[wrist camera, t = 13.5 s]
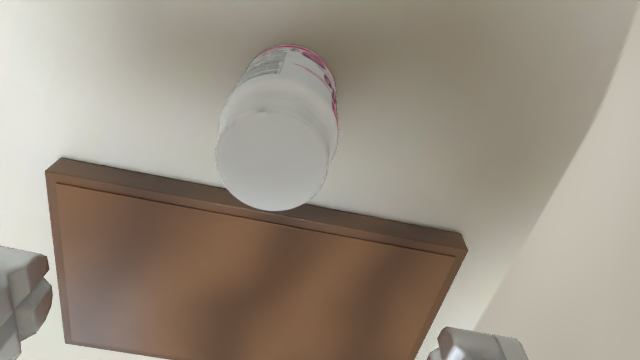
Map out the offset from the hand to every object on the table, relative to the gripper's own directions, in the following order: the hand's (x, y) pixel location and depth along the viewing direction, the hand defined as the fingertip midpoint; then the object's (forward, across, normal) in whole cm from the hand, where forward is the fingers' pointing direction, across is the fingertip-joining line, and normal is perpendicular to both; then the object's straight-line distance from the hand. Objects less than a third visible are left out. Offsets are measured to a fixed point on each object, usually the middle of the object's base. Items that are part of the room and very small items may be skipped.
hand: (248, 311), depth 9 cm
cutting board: (+15, +1, +14) cm, 21 cm away
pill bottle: (+15, 0, 0) cm, 15 cm away
